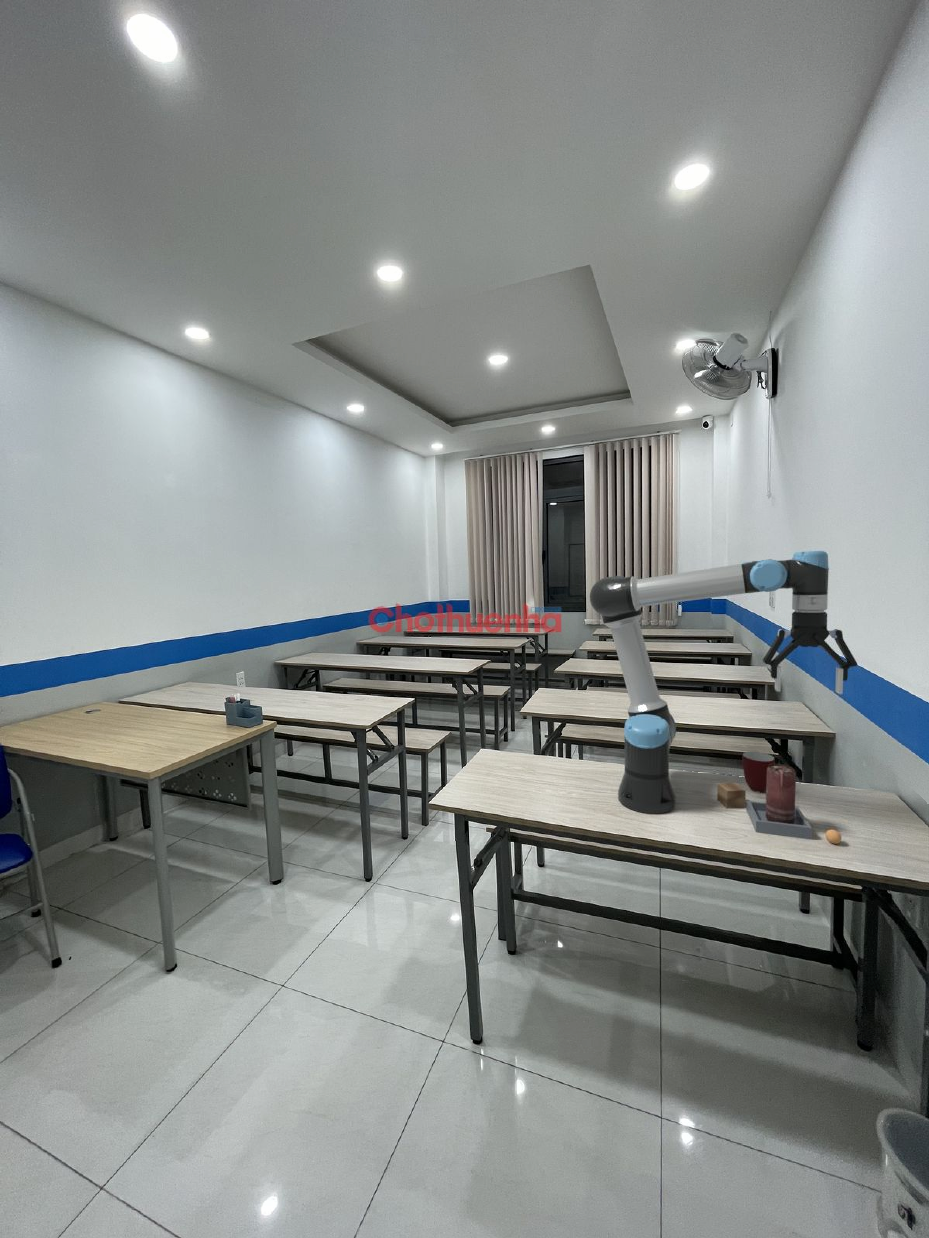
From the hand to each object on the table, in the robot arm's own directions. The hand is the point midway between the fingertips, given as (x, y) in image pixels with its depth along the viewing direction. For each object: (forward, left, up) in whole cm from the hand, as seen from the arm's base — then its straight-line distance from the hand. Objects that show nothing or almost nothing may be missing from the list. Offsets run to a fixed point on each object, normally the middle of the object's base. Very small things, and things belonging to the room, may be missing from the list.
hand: (807, 691), depth 129 cm
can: (-8, -11, -31) cm, 34 cm away
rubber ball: (+1, -17, -30) cm, 35 cm away
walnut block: (-18, -2, -32) cm, 37 cm away
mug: (-8, +10, -32) cm, 34 cm away
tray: (-9, -11, -32) cm, 35 cm away
